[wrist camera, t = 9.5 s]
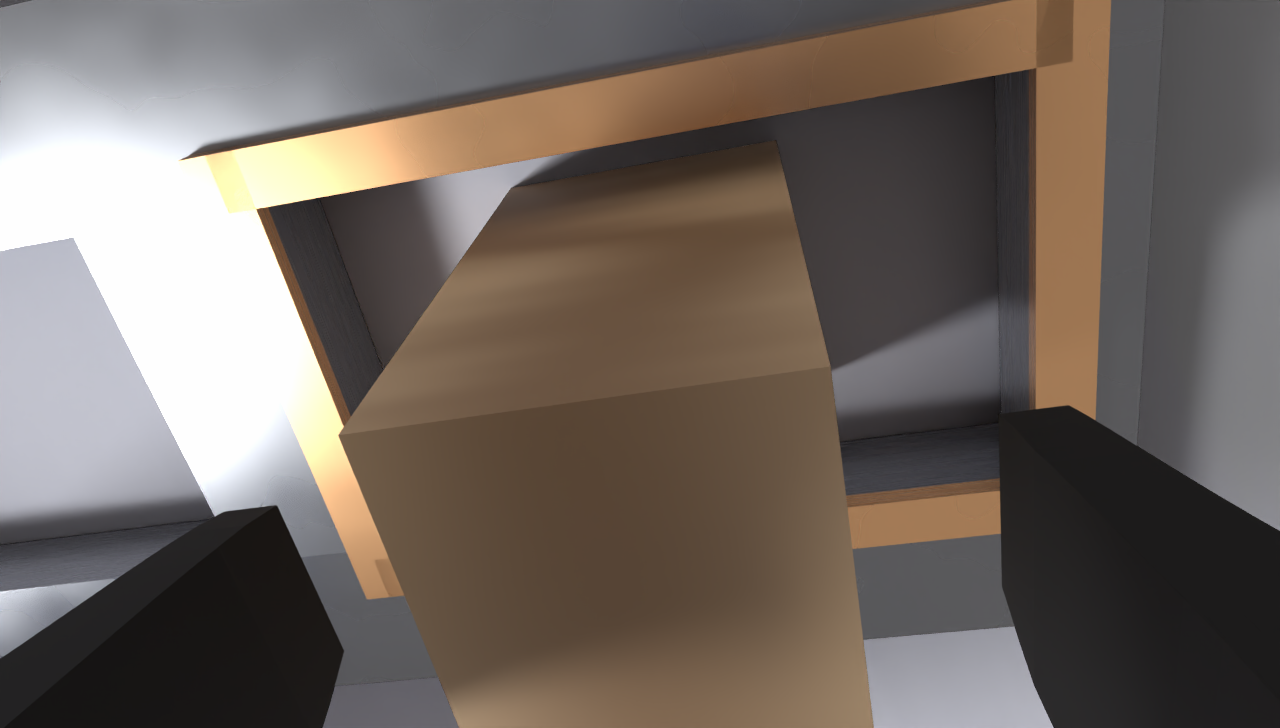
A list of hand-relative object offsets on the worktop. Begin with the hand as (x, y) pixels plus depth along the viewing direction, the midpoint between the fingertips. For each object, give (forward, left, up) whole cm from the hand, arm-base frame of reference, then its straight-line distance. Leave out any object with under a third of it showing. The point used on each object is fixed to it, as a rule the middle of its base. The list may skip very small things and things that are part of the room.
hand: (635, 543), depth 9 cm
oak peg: (0, 0, -6) cm, 6 cm away
